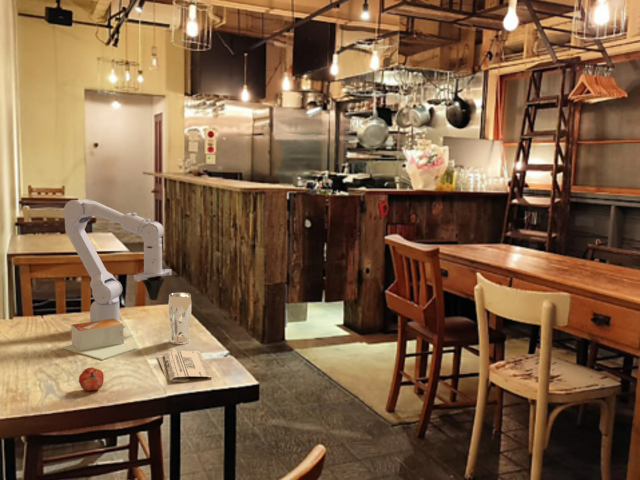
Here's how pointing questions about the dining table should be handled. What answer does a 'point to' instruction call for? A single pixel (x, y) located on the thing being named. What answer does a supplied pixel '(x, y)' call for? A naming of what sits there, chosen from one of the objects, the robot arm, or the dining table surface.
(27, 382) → the dining table surface
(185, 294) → the beer glass
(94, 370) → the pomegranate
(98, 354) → the mat
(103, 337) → the small box
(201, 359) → the newspaper
